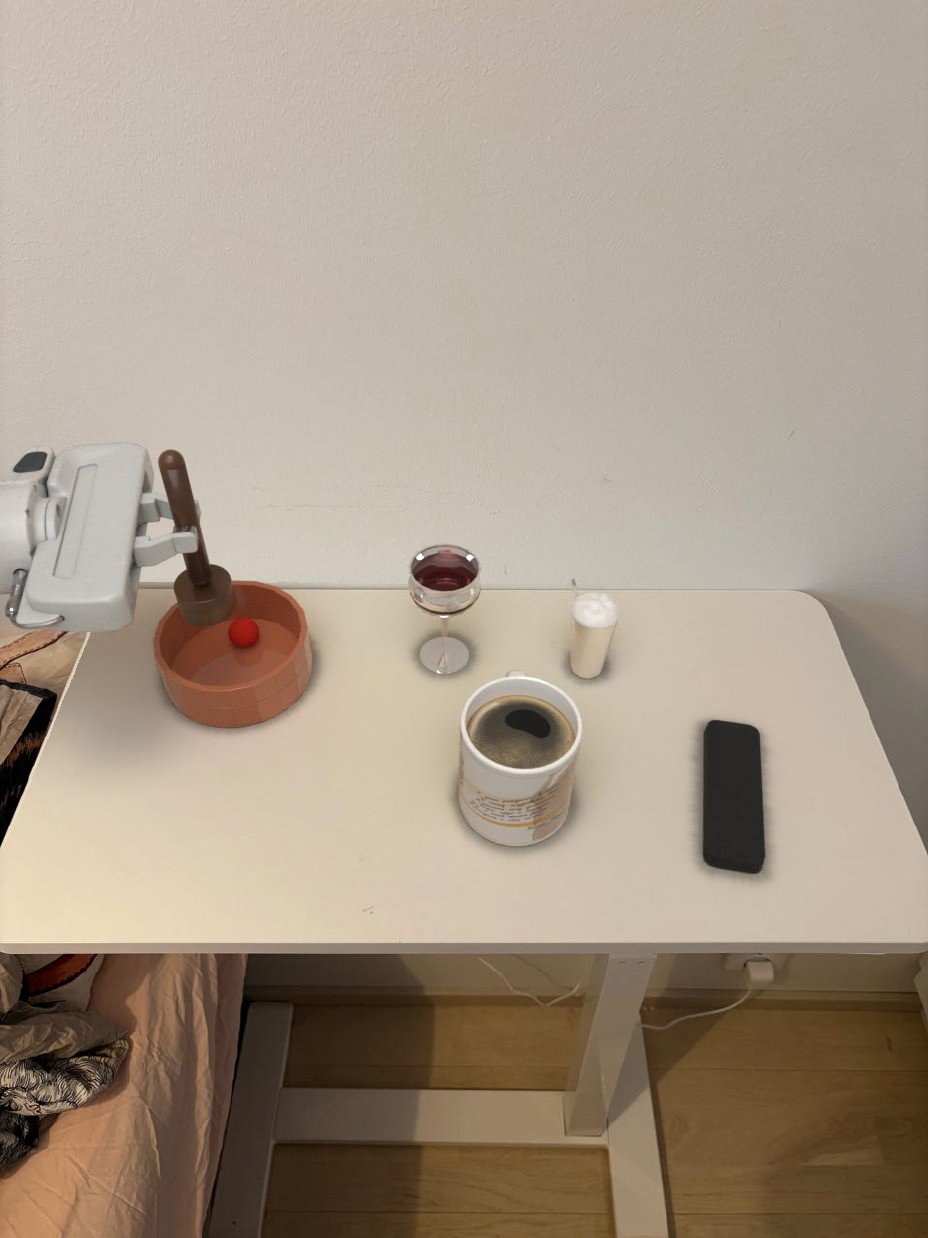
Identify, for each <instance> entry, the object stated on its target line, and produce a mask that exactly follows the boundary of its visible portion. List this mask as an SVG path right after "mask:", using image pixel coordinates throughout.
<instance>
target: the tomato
mask: <svg viewBox="0 0 928 1238" xmlns="http://www.w3.org/2000/svg"><path fill="white" fill-rule="evenodd" d="M228 635H229V639H230V640H231V642H232V643H233V644H234V645H236V646H238V647H242V648H245V647H249V646H252V645H253V644H254V643H255V642H256V641H257V639H258V637H259V628H258V626H257V624H256V623H255V622H254V621H253V620H251V619H249V618H244V617H243V618H238V619H236V620H235V621H233V622H232V623H231V625H230V627H229V630H228Z"/></svg>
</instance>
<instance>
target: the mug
mask: <svg viewBox="0 0 928 1238" xmlns="http://www.w3.org/2000/svg"><path fill="white" fill-rule="evenodd" d="M459 719H460V720H459V757H458V759H459V760H458V762H459V763H458V805H459V808H460V811H461V814H462V816H463V818H464V819H465V821H466V822H467V824H468V825H469V826H470V827H471V828H472V830H474V831H475V833H477V834H478V835H480V836H481V837H482V838H484V839H486V840H488V841H489V842H492V843H495V844H497V845H502V846H506V847H528V846H531V845H535V844H538V843H540V842H542V841H543V842H544V841H545V840H546V839H549V838H550V837H551V836H553V835H554V834H555V833H556V832H557V831H558V830H559V829H560V828H561V827H562V825H563V824H564V823H565V821H566V819H567V816H568V814H569V810H570V804H571V799H572V794H573V789H574V782H575V778H576V777H575V776H576V771H577V766H578V760H579V755H580V748H581V744H582V738H583V732H584V729H583V728H584V727H583V725H584V724H583V719H582V715H581V713H580V710H579V708H578V706H577V704H576V703H575V702H574V700H573V699H572V698H571V697H570V696H569V694H568V693H566V692H565V691H564V690H563V689H561V688H560V687H559V686H557V685H556V684H553V683H552V682H550V681H547V680H544V679H541V678H538V677H533V676H528V674H527V673H526V671H525V670H516V669H515V670H514V669H513V670H511V669H510V670H509V671H508V672H506V674H505V676H504V677H499V678H496V679H492V680H490V681H488V682H486V683H484V684H482V685H481V686H479V687H478V688H477V689H476V690H475V691H473V693H472V694H471V695H470V696H469V698H468V699H467V700H466V702H465V703H464V705H463V707H462V710H461V714H460V718H459Z"/></svg>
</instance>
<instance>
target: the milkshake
mask: <svg viewBox="0 0 928 1238" xmlns="http://www.w3.org/2000/svg"><path fill="white" fill-rule="evenodd" d="M570 582H571V586H572V591H573V594H574V598H575V599H574V600H573V602H572V604H571V606H570V607H571V608H570V646H569V647H570V648H569V650H570V651H569V653H570V654H569V666H570V669H571V672H572V673H573V674H574V675H575V676H577V677H579V678H581V679H588V680H591V679H593V678H596V677H599V676H600V674H601V673H602V671H603V669H604V666H605V662H606V659H607V657H608V653H609V650H610V646H611V643H612V639H613V638H614V637H613V636H614V634H615V631H616V628H617V625H618V623H619V619H620V617H621V608H620V605H619V604H618V602H617V601H616V600H615V599H614V598H613V597H612V596H611V595H610V594H608V593H607V592H597V591H589V592H585V593H583V594H581V595H579V590H578V587H577V583H576V582H577V581H576V579H575V578H572V579H571V580H570Z"/></svg>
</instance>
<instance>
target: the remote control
mask: <svg viewBox="0 0 928 1238" xmlns="http://www.w3.org/2000/svg"><path fill="white" fill-rule="evenodd" d="M761 753H762V752H761V733H760V731H759V729H758V728H756V726H754V725H752V724H747V723H740V722H734V721H729V720H728V721H727V720H722V719H711V720H710V721H708V722H707V724H706V726H705V728H704V731H703V789H702V790H703V793H702V794H703V798H702V799H703V800H702V803H703V804H702V805H703V806H702V808H703V812H702V858H703V860H704V862H705V863H706V865H708V866H710V867H713V868H717V869H722V870H729V871H735V872H740V873H746V874H758V873H760V872H761V871H762V869H763V865H764V864H765V863H764V862H765V859H766V841H765V817H764V799H763V798H764V797H763V795H764V794H763V777H762V776H763V775H762V773H763V772H762V754H761Z"/></svg>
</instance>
